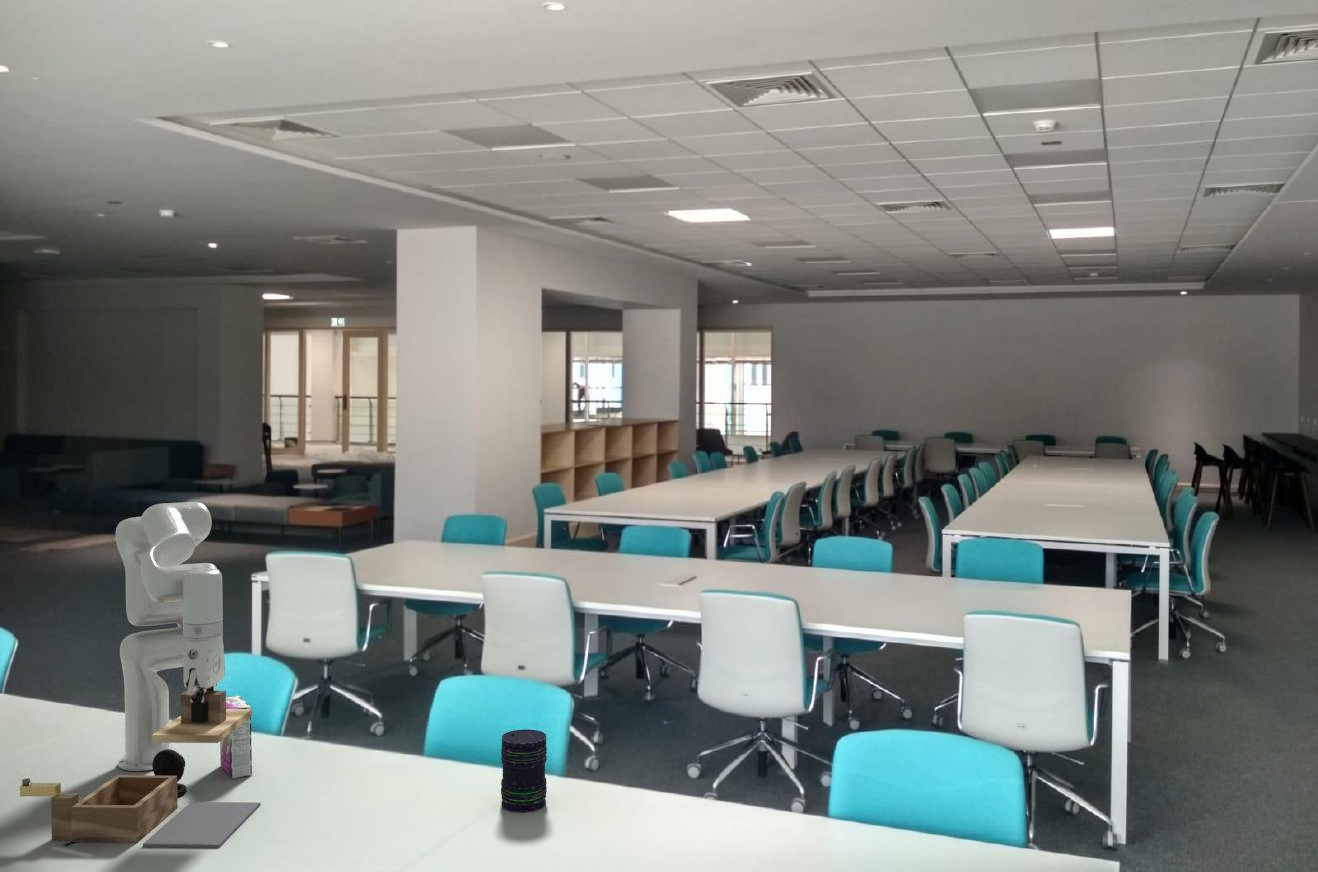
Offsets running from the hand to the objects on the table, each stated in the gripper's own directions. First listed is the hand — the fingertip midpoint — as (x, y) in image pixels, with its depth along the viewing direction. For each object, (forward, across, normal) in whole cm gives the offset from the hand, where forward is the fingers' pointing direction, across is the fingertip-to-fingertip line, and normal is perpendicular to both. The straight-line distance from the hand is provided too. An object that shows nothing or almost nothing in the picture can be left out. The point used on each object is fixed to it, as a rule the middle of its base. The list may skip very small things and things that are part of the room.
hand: (203, 718), depth 224 cm
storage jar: (+23, +13, -64) cm, 69 cm away
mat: (+22, 0, 0) cm, 22 cm away
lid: (+2, 0, 0) cm, 2 cm away
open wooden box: (+22, 0, +18) cm, 29 cm away
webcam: (+22, +17, +15) cm, 32 cm away
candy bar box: (+22, +32, +6) cm, 40 cm away
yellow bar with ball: (+13, -7, +30) cm, 33 cm away
